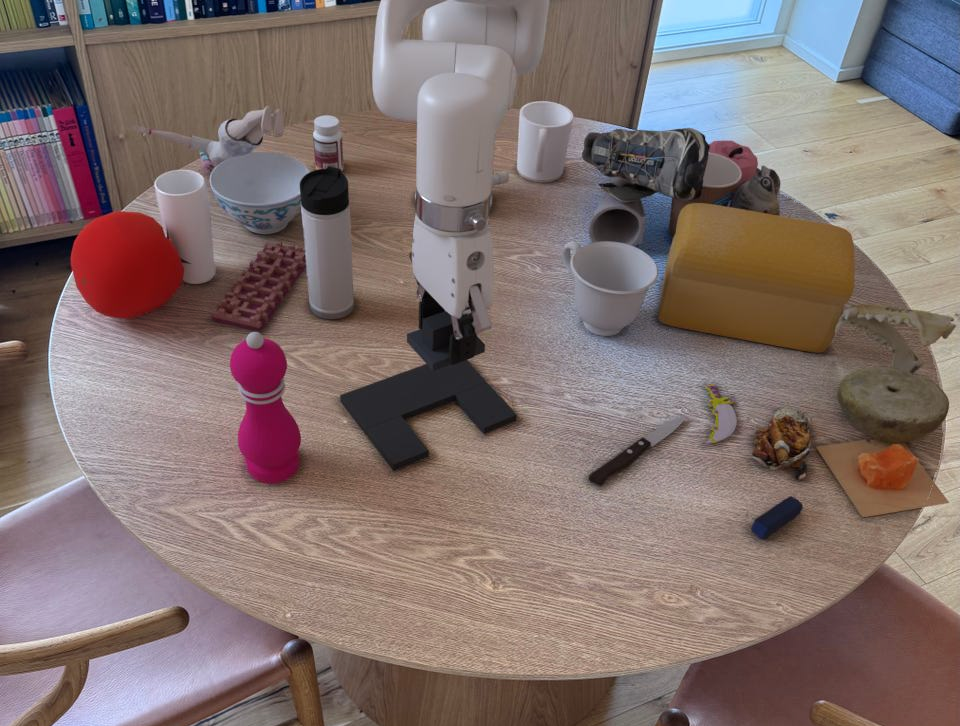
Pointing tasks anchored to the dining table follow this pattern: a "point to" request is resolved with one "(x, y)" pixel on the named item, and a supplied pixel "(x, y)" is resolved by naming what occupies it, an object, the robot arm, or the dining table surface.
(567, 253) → the teacup
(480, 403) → the black u-shaped block
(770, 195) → the figurine
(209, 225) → the drinking glass
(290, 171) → the chinaware
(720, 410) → the decorative knife
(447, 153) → the robot arm
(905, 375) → the weight
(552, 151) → the mug
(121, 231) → the tomato
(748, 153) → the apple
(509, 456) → the dining table surface
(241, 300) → the chocolate bar
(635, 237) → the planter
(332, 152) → the pill bottle
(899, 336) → the jawbone
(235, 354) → the pepper mill
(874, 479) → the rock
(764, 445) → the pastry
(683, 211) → the bread
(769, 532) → the eraser
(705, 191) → the coffee cup
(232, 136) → the figurine
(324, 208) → the travel mug
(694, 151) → the running shoe
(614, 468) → the kitchen knife
